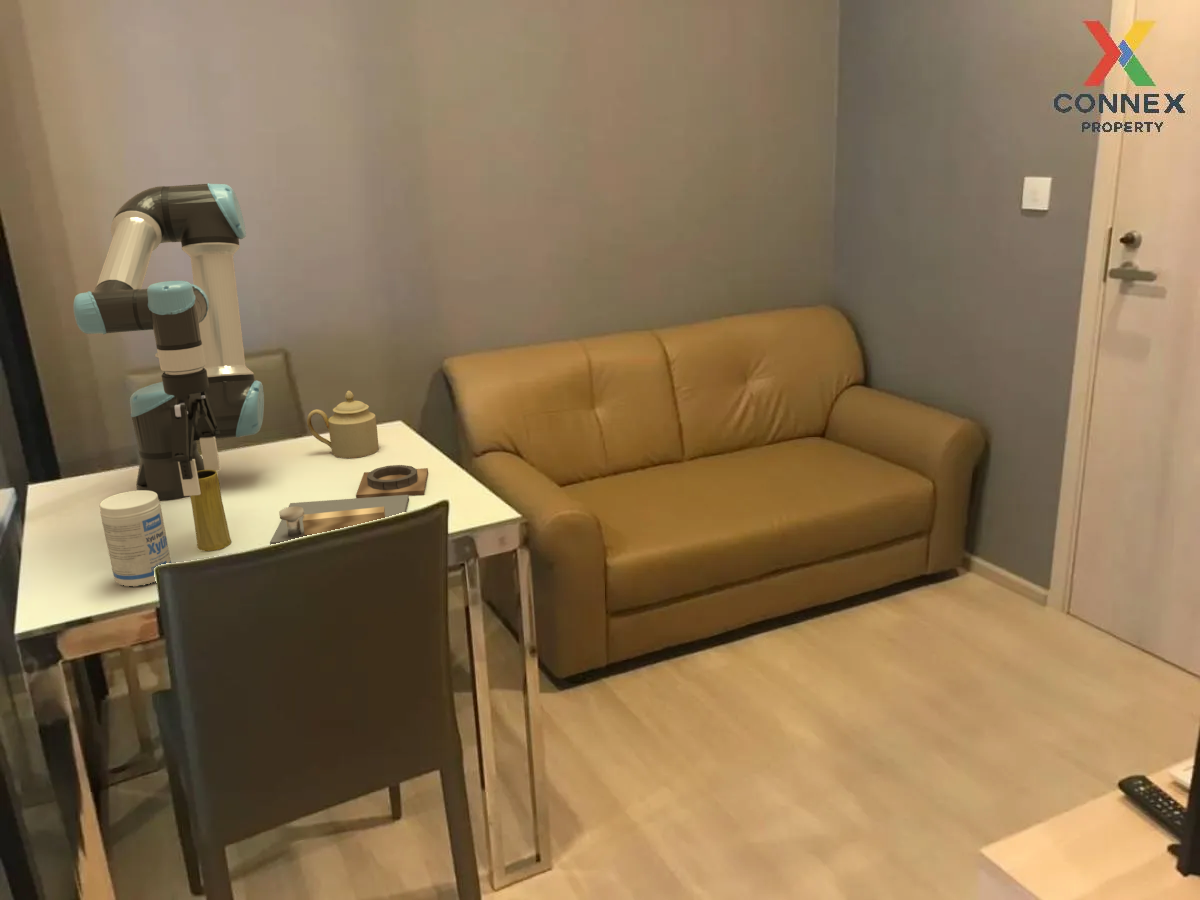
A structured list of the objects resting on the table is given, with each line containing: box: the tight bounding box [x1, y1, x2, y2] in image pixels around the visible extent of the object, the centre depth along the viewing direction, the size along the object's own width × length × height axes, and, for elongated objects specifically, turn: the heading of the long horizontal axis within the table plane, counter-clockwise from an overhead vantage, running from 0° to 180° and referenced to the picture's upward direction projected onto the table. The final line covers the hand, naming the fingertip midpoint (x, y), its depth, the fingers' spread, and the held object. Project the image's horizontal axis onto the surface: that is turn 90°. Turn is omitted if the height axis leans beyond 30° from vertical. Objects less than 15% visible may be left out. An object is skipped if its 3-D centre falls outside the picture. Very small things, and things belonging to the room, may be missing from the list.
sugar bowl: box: [306, 390, 380, 459], centre depth 237 cm, size 15×11×15 cm
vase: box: [189, 470, 232, 552], centre depth 187 cm, size 6×6×14 cm
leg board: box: [269, 495, 410, 545], centre depth 198 cm, size 24×20×1 cm
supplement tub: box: [99, 490, 172, 587], centre depth 175 cm, size 10×10×15 cm
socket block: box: [355, 464, 429, 498], centre depth 216 cm, size 14×14×3 cm
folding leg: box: [278, 506, 385, 535], centre depth 191 cm, size 19×4×5 cm, turn 101°
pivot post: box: [286, 518, 301, 537], centre depth 190 cm, size 2×2×4 cm
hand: (202, 482), depth 185 cm, fingers open, 13 cm apart
